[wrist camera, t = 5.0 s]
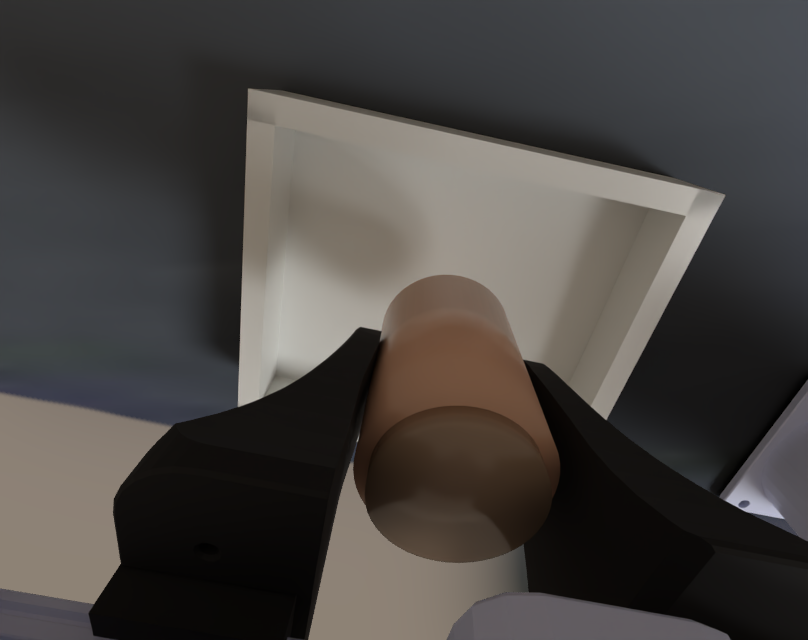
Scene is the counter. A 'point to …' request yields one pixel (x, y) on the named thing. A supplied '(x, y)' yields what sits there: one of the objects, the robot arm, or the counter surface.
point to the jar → (453, 428)
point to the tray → (450, 240)
